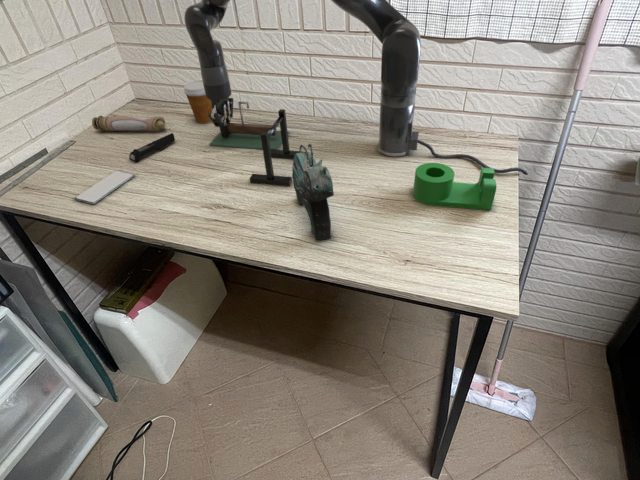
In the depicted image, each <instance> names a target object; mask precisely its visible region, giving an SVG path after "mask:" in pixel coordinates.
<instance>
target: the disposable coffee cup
mask: <svg viewBox="0 0 640 480" xmlns="http://www.w3.org/2000/svg"><path fill="white" fill-rule="evenodd" d="M183 93H184V94H185V95H186V98H187V100H188V104H189V106H190V108H191V110H192V114H193V116H194V118H195V121H196V123H198V124H208V123H212V121H211V119H210V118H209V115H208V114H209V113H212V110H213V109H212V103H211V100H210V99H208V98H207V97H206V94H205V90H204V85H203V81H202V79H198V80H193V81H189V82H187V83H185V84H184V86H183Z"/></svg>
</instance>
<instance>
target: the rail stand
mask: <svg viewBox="0 0 640 480" xmlns="http://www.w3.org/2000/svg"><path fill="white" fill-rule="evenodd" d="M277 113H278V117H277V118H276V120H275V121H274V123H273V124H271V125H272V126H271V128H270V129H269V131H268V132H267V133H266V132H262V134H261V141H262V148H263V150H262V154H263V160H264V166H265V173H266V174H262V173H261V174H260V173H252V174H251V175H250V177H249V182H250V184H256V185H257V184H258V185H267V186H269V185H270V186H280V187H289V188H290V187H291V185H292V184H293V177H292V176H283V175H275V172H274V166H273V160H272V159H282V160H283V159H284V160H294V155H295V154H296V153H299V150H290V142H289V141H290V140H289V134H288V132H287V131H288V123H287V113H286V109H284V108H283V109H282V108H281V109H278V112H277ZM278 127H279V128H280V129H279V131H281V138H282V144H281V146H282V149H278V150H276V149H270V143H269V137H270V136H271V135H272V133H273V132H274V130H275V129H276V130H277V128H278ZM301 152H305V150H304V151H302V150H301Z"/></svg>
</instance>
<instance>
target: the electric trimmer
mask: <svg viewBox="0 0 640 480" xmlns="http://www.w3.org/2000/svg"><path fill="white" fill-rule="evenodd" d="M175 140H176V139H175V133H173V132H171V133H169V134H167V135H164V136H163V137H160V138H158V139H155V140H153V141H151V142H149V143H147V144H145V145H143V146H140V147H138V148H134V149H133V150H132V151H130V153H129V156H128V157H129V158H128V159H129V160H130V162H132V163H139V162H140V160H141V159H143V158H145V157H147V156H149V155H150V154H152V153H154V152H156V151H161V150H163V149H164V148H166V147H167V146H169V145H170V144H172V143H173V142H174V141H175Z"/></svg>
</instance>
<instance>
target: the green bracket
mask: <svg viewBox="0 0 640 480" xmlns="http://www.w3.org/2000/svg"><path fill="white" fill-rule="evenodd" d="M494 169H495V168H493V167H490V168H483V167H481V168H480V173H479V178H478V181H477V182H476V183H471V182H469V183H468V182H455V175H456V174H455V171H454V169H453V168H452V167H451V166H449V165H446V164H444V163H440V162H426V163H422V164H420V165H418V166H416V168H415V172H414V180H413V190H412V196H413V198H414V200H416V202H418V203H420V204H423V205H425V206H435V207H446V208H458V209H469V210H483V211H492V208H493V204H494V200H495V195H496V192H497V180H496V178H495V174H496V173H494Z"/></svg>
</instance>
